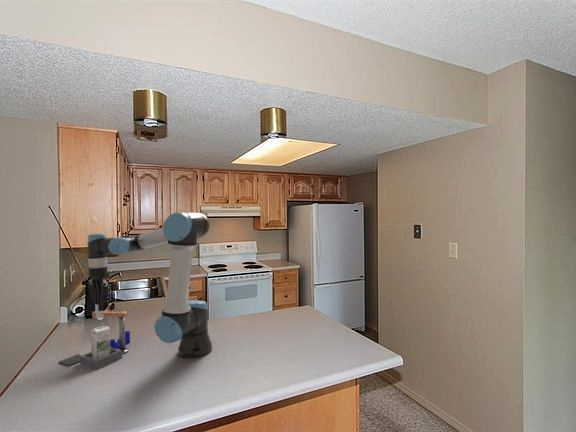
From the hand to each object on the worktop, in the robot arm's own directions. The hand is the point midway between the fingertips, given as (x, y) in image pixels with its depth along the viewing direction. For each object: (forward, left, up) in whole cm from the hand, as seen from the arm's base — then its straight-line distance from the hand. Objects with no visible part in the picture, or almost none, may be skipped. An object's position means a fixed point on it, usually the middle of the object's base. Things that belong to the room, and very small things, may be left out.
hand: (99, 317), depth 145 cm
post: (-9, -5, -17) cm, 20 cm away
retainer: (-2, -3, -1) cm, 4 cm away
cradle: (-9, +5, -17) cm, 19 cm away
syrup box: (-9, +5, -17) cm, 20 cm away
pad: (+3, +10, -17) cm, 20 cm away
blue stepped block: (-1, -8, -17) cm, 19 cm away
